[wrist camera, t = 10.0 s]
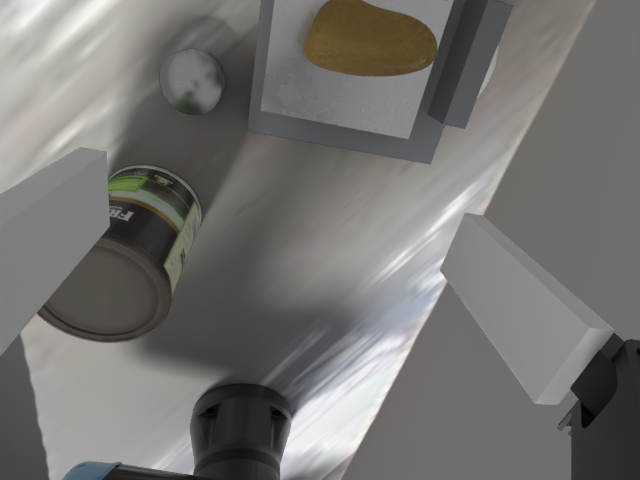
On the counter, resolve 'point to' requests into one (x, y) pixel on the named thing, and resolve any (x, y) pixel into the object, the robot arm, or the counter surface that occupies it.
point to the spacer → (192, 81)
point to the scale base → (438, 98)
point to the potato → (368, 40)
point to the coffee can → (130, 260)
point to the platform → (342, 89)
